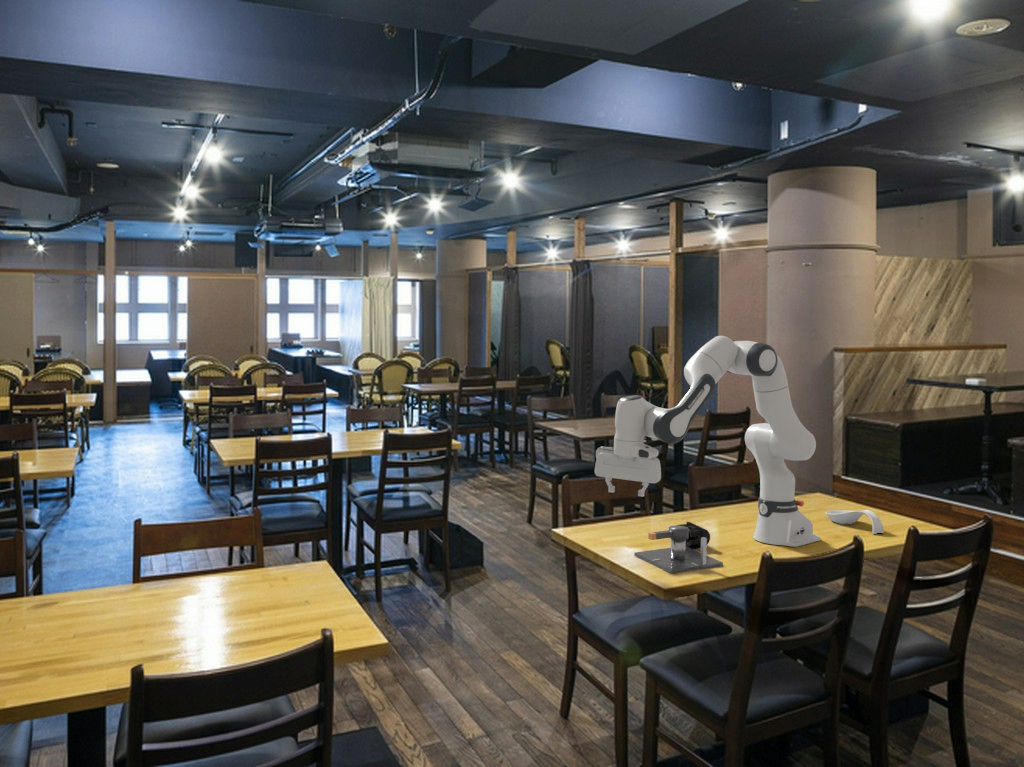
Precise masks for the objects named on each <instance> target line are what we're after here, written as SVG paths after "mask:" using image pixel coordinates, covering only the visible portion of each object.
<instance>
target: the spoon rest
mask: <svg viewBox="0 0 1024 767" xmlns="http://www.w3.org/2000/svg"><path fill="white" fill-rule="evenodd" d="M825 515H826V516H827V518H828V519H829V520H830V521H832V522H833V523H835V522H836V523H835V524H838V523H839V525H844V524H850V525H853V524H854V523H856V522H857V521H858V520H859V519H860V518H861V517H863V515H865V516H866V517H868V518H869V519H870V521H871V524H872V525H871V526H872V527H871V528H872V535H874V534H876V533H882V532H884V533H885V530H884V525H883V522H882V520H881V519H880V517H879V516H878V515H877V514H876V513H874V512H873V511H872V510H869V509H865V510H845V509H837V510H836V509H835V510H827V511H826V512H825ZM852 523H853V524H852ZM876 535H877V534H876Z"/></svg>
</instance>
